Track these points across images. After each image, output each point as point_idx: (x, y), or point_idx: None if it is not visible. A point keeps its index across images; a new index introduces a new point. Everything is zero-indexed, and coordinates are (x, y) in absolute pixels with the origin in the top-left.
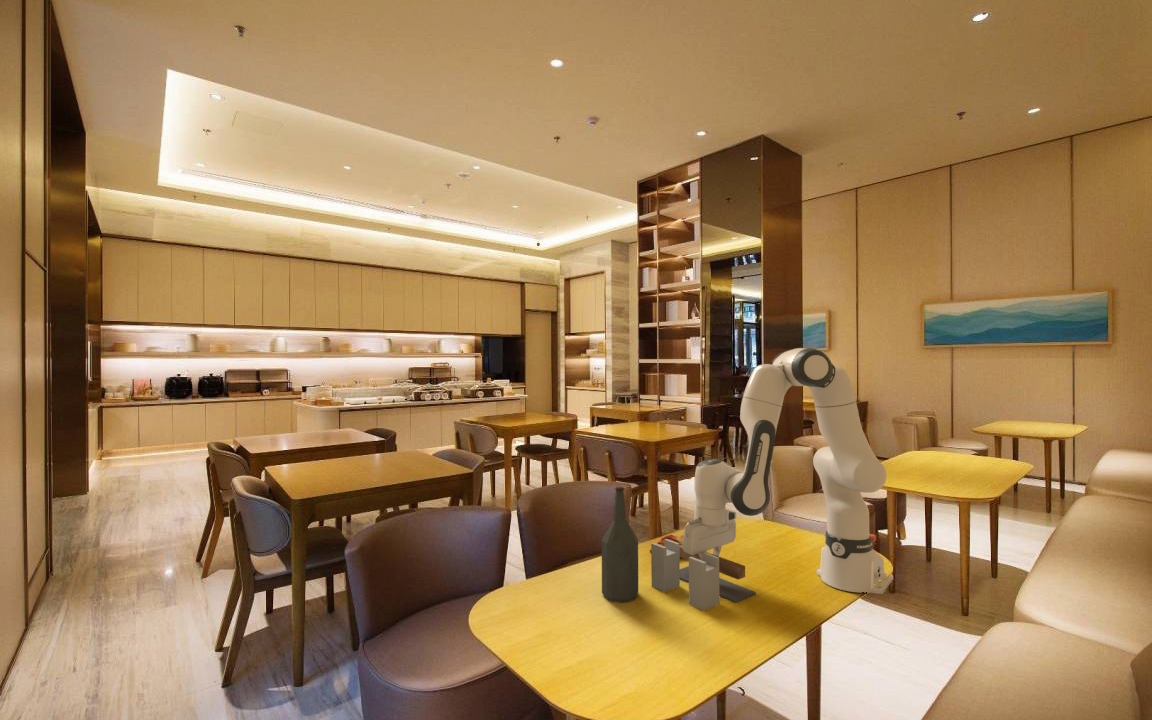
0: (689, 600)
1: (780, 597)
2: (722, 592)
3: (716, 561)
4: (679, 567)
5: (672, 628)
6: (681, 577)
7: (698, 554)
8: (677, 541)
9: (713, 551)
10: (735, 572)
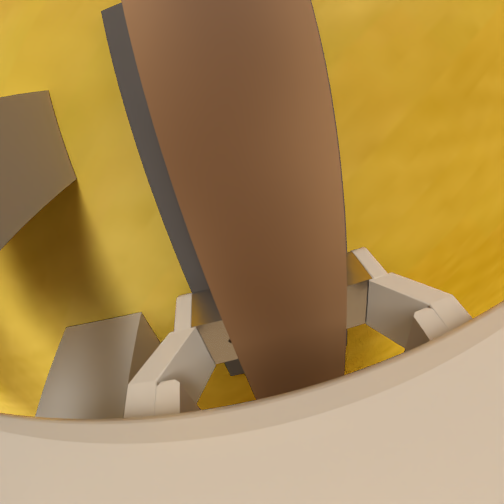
0: (63, 338)
1: (379, 361)
2: None
3: None
4: (21, 226)
5: (15, 382)
6: (126, 94)
7: (141, 369)
8: None
9: (392, 293)
10: None
